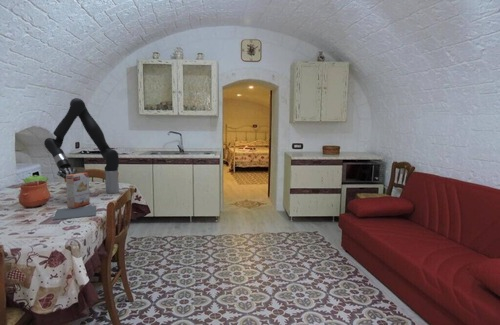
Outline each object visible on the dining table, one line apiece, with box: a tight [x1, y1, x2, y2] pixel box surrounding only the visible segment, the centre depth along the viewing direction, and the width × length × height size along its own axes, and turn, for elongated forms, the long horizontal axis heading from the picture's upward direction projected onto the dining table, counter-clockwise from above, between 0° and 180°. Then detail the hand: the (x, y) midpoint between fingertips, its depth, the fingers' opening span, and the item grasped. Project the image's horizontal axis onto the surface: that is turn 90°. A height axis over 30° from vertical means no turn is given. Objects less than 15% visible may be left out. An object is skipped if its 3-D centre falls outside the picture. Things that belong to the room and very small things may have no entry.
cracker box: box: [65, 172, 91, 208], centre depth 210 cm, size 14×6×21 cm, turn 169°
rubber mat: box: [52, 205, 97, 221], centre depth 197 cm, size 22×22×1 cm
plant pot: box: [72, 167, 86, 174], centre depth 260 cm, size 15×15×16 cm
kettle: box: [21, 174, 50, 184], centre depth 258 cm, size 15×14×11 cm
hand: (72, 182), depth 214 cm, fingers closed
